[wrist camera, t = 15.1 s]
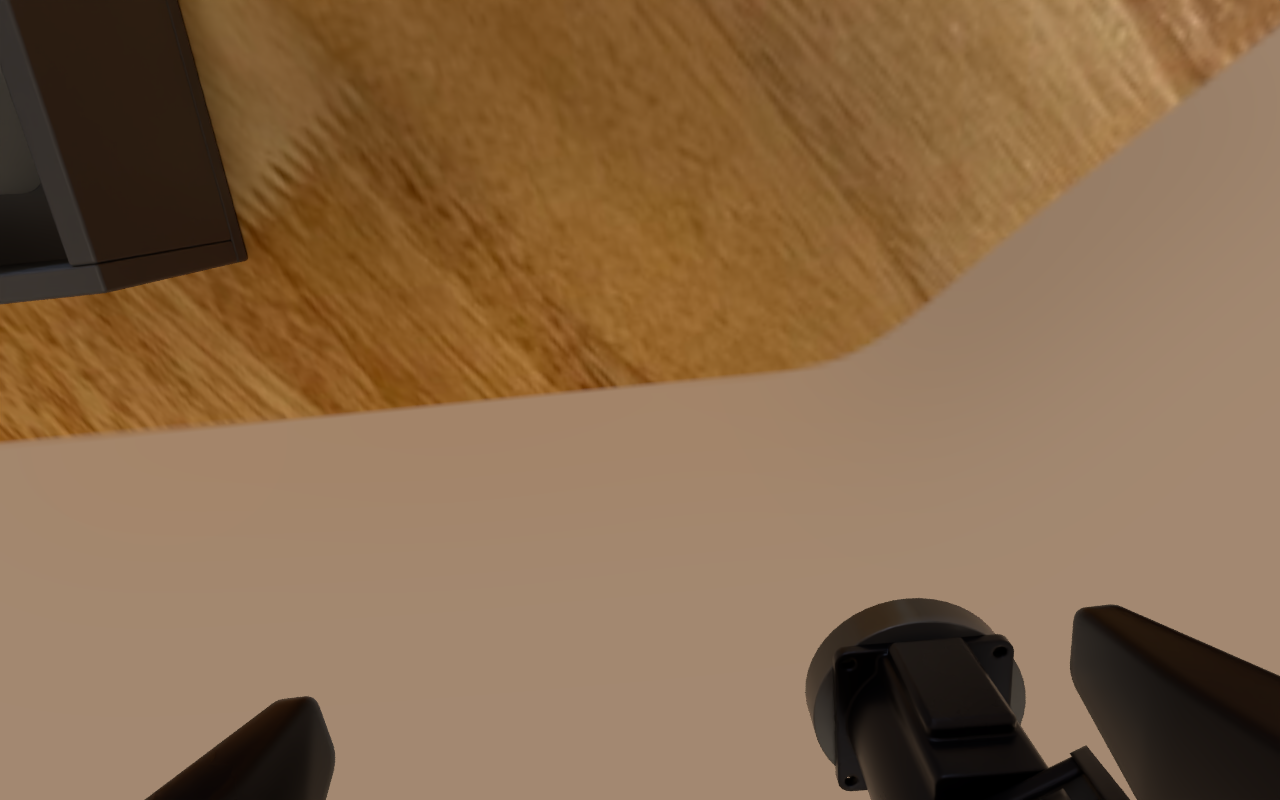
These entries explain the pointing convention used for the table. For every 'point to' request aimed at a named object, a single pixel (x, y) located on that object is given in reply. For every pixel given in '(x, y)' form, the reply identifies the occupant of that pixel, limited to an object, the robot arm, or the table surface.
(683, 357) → the table surface
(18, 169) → the power adapter
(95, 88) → the open storage box
